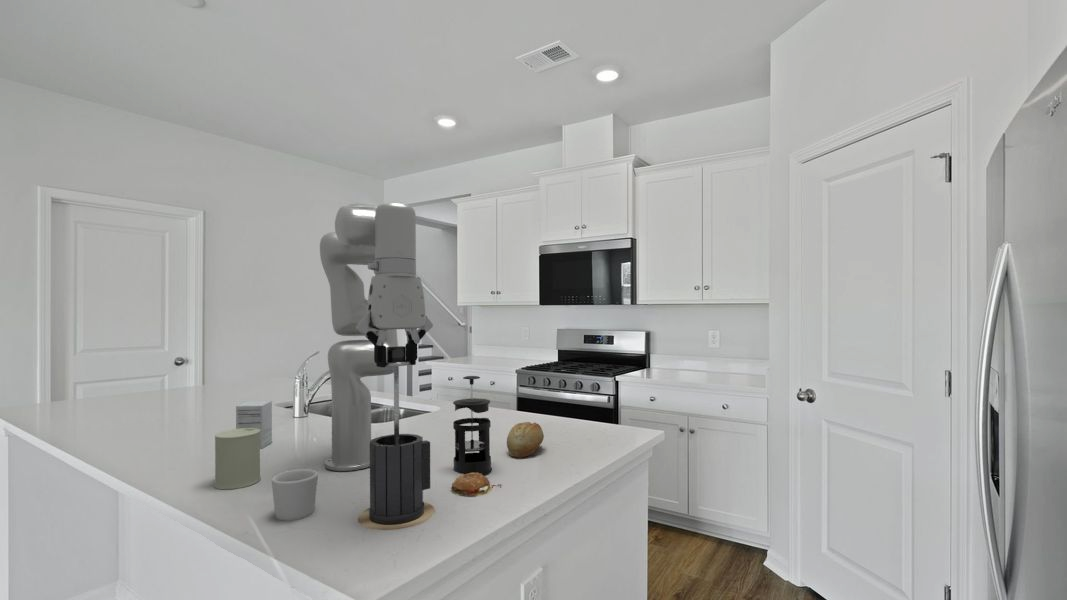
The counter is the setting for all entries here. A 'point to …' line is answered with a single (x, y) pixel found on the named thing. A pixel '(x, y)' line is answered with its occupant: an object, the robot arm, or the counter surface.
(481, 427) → the french press
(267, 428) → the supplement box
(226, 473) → the can
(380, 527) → the trivet
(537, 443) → the bread roll
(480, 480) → the hamburger
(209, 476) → the counter surface
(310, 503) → the cup
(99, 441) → the counter surface
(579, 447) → the counter surface
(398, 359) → the plunger
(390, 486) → the dark slatted tankard
